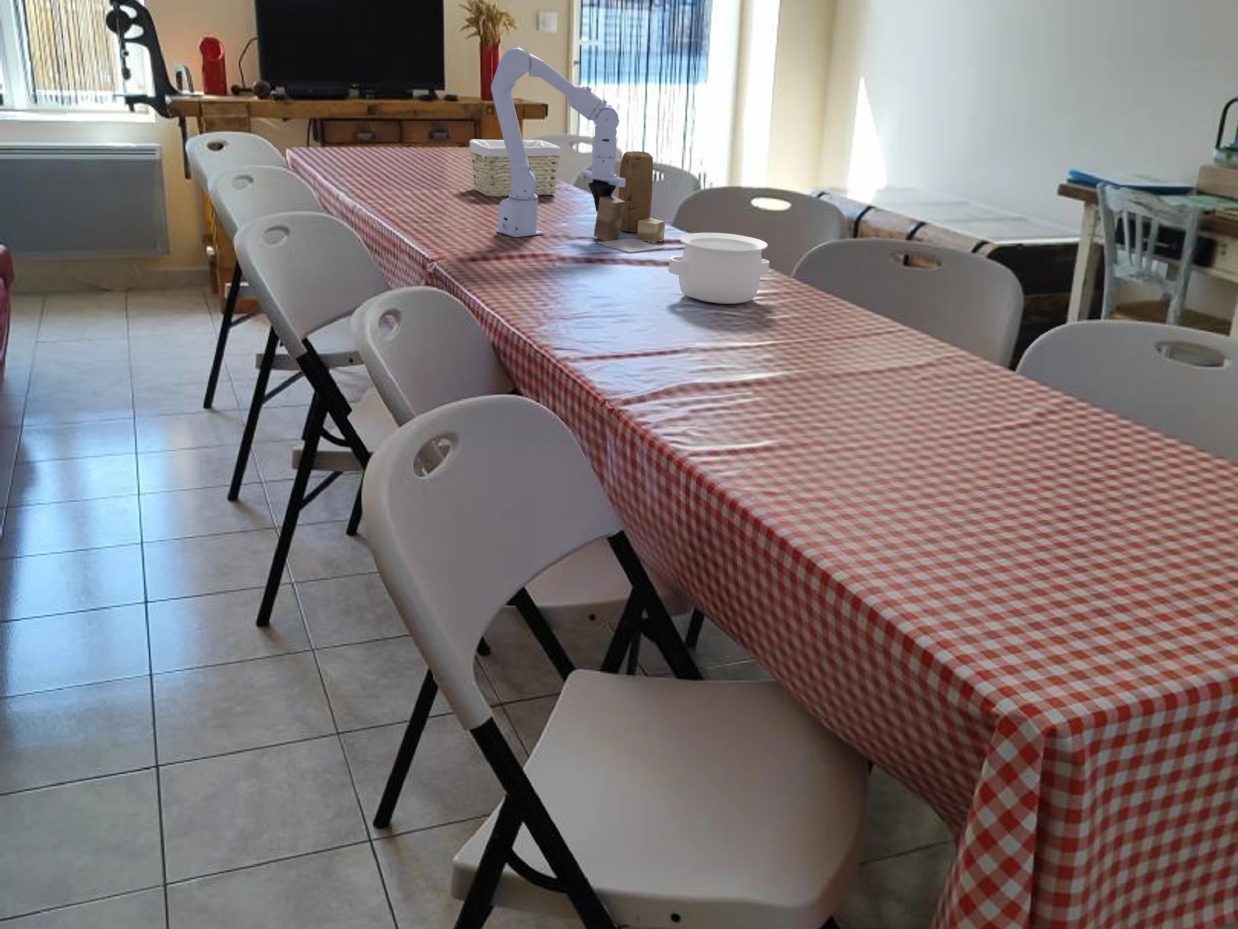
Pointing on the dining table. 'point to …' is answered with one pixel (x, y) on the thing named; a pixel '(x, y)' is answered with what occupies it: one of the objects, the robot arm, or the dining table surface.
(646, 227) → the oak cube
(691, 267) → the pot
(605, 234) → the walnut pillar
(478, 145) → the storage basket
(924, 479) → the dining table surface
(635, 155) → the block
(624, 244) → the mat
